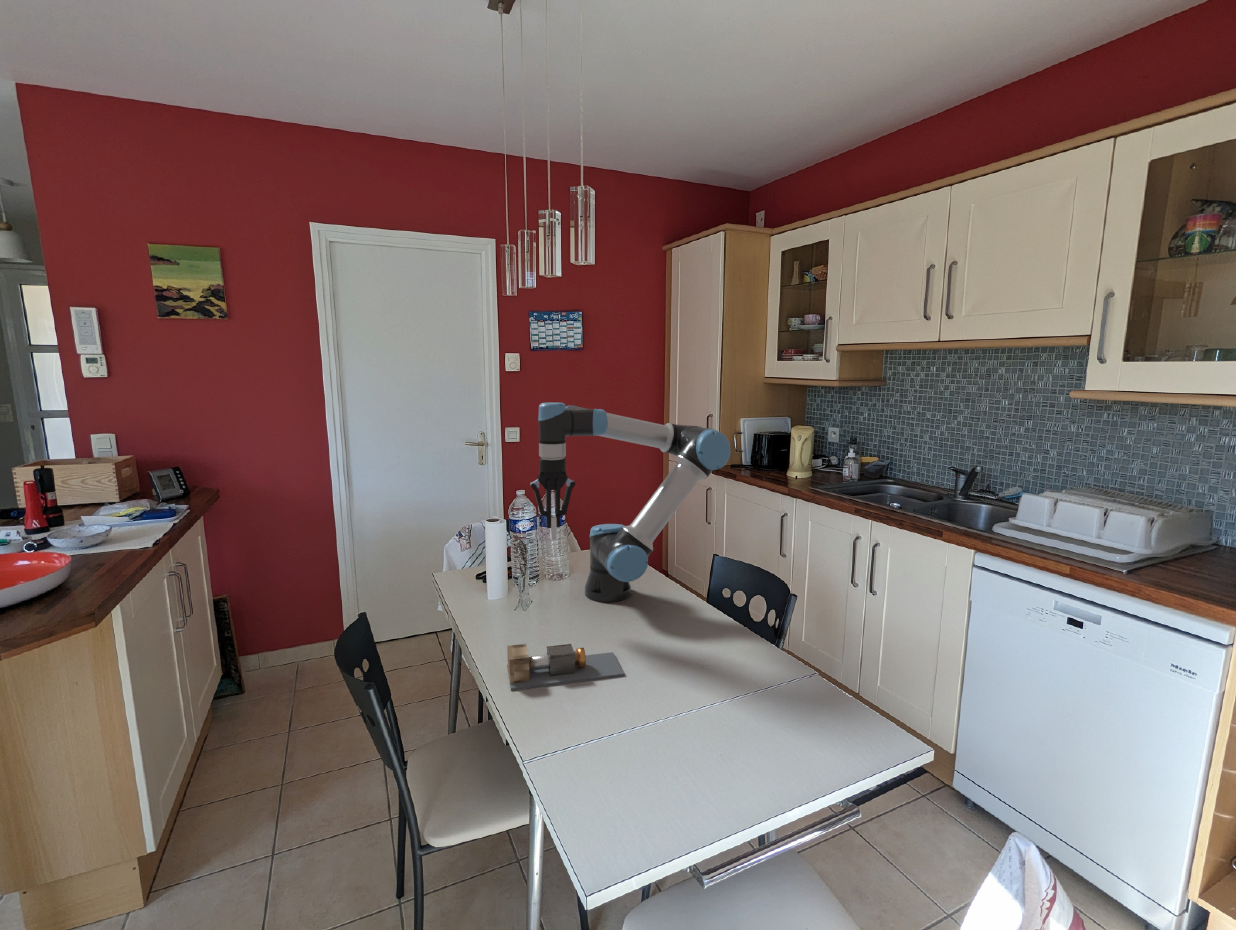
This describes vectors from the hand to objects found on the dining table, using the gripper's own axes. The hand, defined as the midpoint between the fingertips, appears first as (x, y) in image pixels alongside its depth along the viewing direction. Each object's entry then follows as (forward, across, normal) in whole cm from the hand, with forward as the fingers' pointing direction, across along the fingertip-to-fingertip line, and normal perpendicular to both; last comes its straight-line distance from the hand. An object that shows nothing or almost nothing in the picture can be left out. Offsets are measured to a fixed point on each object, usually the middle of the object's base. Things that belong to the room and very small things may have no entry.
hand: (553, 538), depth 169 cm
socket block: (+24, +13, +31) cm, 42 cm away
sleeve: (+24, +3, +31) cm, 39 cm away
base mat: (+24, +2, +31) cm, 39 cm away
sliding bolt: (+24, +6, +31) cm, 39 cm away
